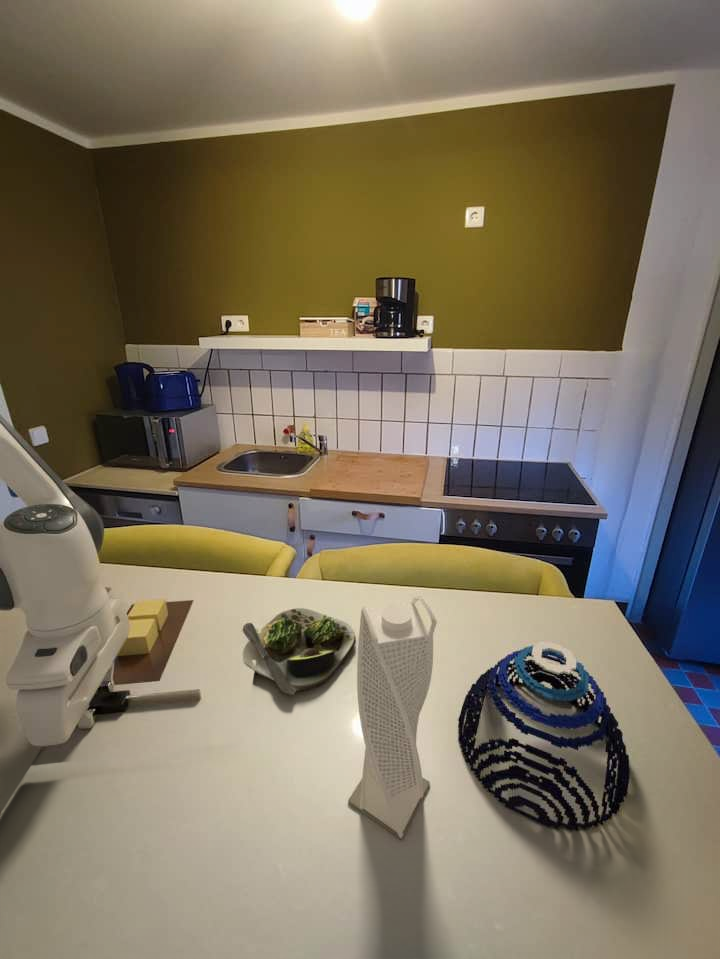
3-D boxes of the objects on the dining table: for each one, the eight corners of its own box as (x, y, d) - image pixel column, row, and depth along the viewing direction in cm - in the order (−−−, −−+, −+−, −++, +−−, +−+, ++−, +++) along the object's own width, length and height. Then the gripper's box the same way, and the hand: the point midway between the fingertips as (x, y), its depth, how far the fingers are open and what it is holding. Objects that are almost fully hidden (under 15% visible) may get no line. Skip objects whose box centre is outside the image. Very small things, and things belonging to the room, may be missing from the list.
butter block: (117, 656, 69) (112, 638, 68) (128, 637, 73) (124, 620, 72) (149, 653, 70) (145, 636, 68) (158, 634, 74) (155, 618, 73)
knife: (66, 726, 59) (60, 709, 58) (75, 711, 61) (70, 695, 60) (200, 713, 61) (197, 696, 60) (204, 699, 63) (201, 683, 62)
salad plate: (210, 662, 70) (206, 639, 68) (281, 603, 84) (279, 583, 82) (305, 713, 60) (303, 688, 59) (367, 637, 75) (367, 615, 73)
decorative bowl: (477, 665, 69) (485, 589, 64) (621, 714, 60) (644, 630, 55) (439, 775, 52) (446, 684, 47) (630, 866, 43) (664, 766, 38)
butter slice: (130, 633, 74) (126, 616, 73) (140, 616, 78) (136, 600, 77) (160, 630, 75) (157, 614, 74) (168, 614, 79) (165, 598, 78)
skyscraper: (440, 791, 50) (457, 590, 41) (409, 859, 44) (419, 640, 34) (379, 754, 55) (380, 564, 45) (342, 811, 48) (334, 605, 39)
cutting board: (49, 698, 63) (46, 690, 63) (108, 612, 82) (107, 606, 81) (161, 688, 65) (159, 680, 64) (194, 606, 84) (193, 599, 83)
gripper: (87, 582, 64) (107, 654, 69) (-7, 691, 45) (30, 781, 50) (131, 579, 65) (147, 651, 70) (57, 686, 46) (86, 775, 51)
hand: (98, 707), depth 60 cm, fingers open, 4 cm apart
